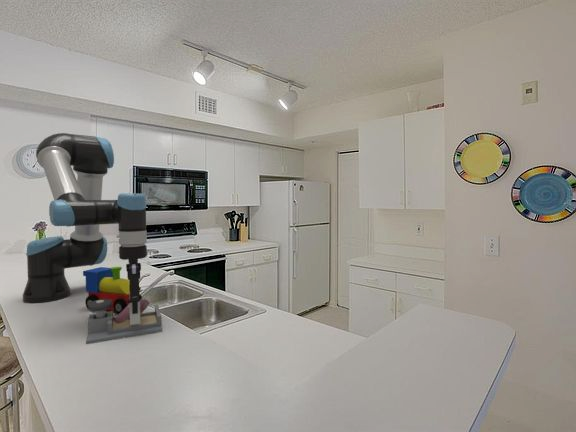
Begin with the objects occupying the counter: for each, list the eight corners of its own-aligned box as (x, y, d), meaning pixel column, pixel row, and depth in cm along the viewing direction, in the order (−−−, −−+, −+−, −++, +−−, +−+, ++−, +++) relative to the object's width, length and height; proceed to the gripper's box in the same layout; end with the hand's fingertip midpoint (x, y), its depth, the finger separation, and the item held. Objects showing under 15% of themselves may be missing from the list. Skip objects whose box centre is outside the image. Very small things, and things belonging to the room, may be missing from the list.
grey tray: (91, 323, 102) (91, 309, 102) (157, 314, 110) (157, 300, 110) (86, 343, 88) (85, 327, 87) (162, 331, 96) (161, 316, 96)
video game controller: (124, 330, 95) (134, 309, 94) (112, 322, 95) (121, 301, 94) (145, 318, 104) (154, 299, 104) (133, 310, 105) (142, 292, 104)
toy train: (101, 302, 123) (100, 263, 122) (145, 308, 117) (143, 266, 116) (79, 310, 115) (78, 267, 114) (124, 316, 108) (123, 271, 107)
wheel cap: (89, 319, 97) (89, 299, 97) (112, 316, 100) (112, 297, 100) (87, 326, 92) (87, 305, 92) (112, 322, 94) (111, 302, 94)
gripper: (119, 241, 107) (121, 308, 108) (117, 251, 87) (120, 333, 88) (144, 240, 111) (146, 305, 112) (148, 249, 90) (150, 328, 91)
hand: (134, 317), depth 100 cm, fingers closed on video game controller, 10 cm apart
